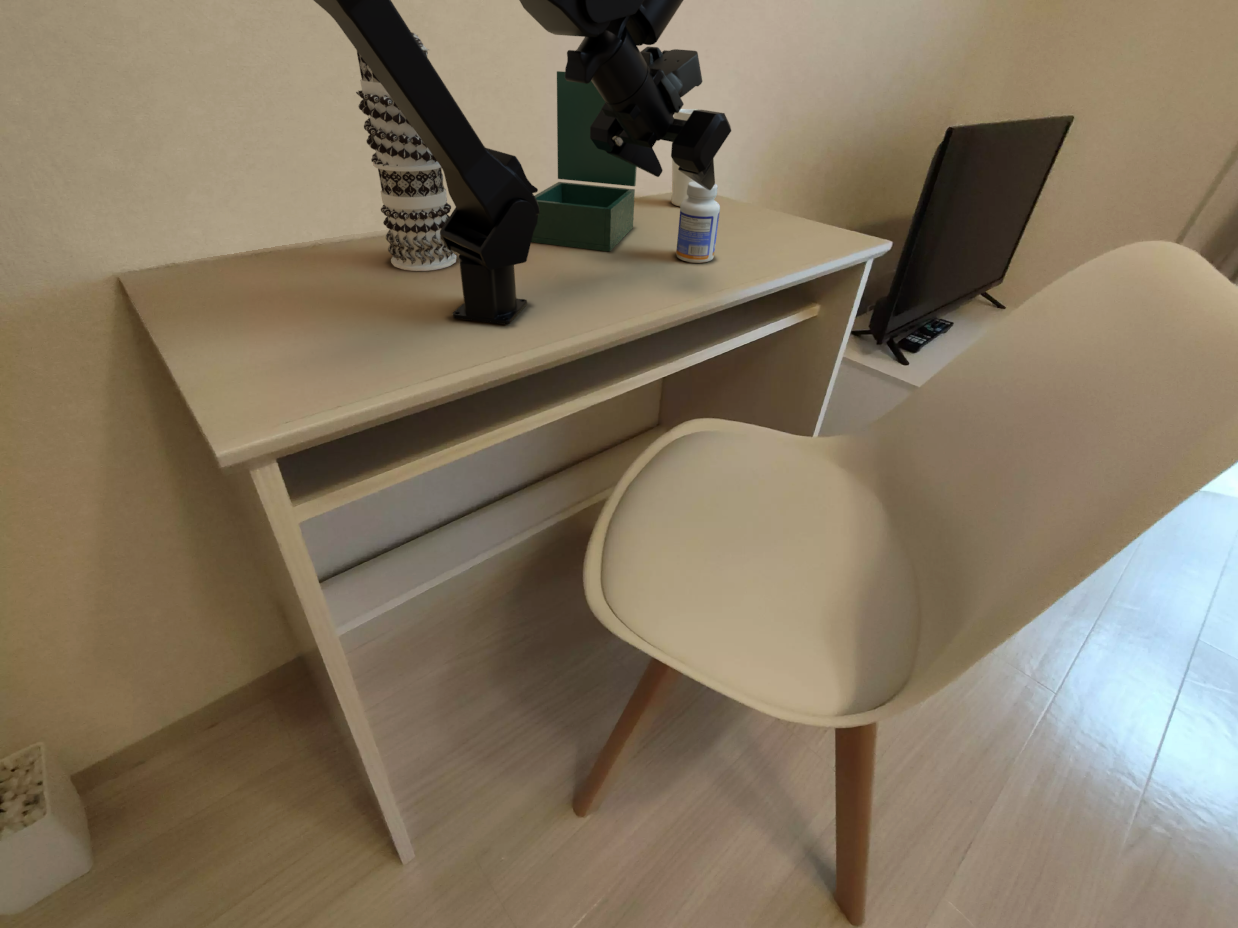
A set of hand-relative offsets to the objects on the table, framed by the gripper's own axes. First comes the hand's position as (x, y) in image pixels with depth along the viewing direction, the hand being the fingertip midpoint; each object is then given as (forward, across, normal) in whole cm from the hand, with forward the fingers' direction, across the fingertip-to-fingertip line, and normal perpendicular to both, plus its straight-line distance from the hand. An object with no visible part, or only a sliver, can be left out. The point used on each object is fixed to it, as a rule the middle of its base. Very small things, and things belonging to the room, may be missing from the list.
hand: (685, 180), depth 79 cm
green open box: (+6, +18, +9) cm, 21 cm away
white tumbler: (+26, +22, -10) cm, 36 cm away
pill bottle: (+10, 0, +5) cm, 11 cm away
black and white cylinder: (-12, +20, +27) cm, 36 cm away
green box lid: (0, +22, -4) cm, 22 cm away
